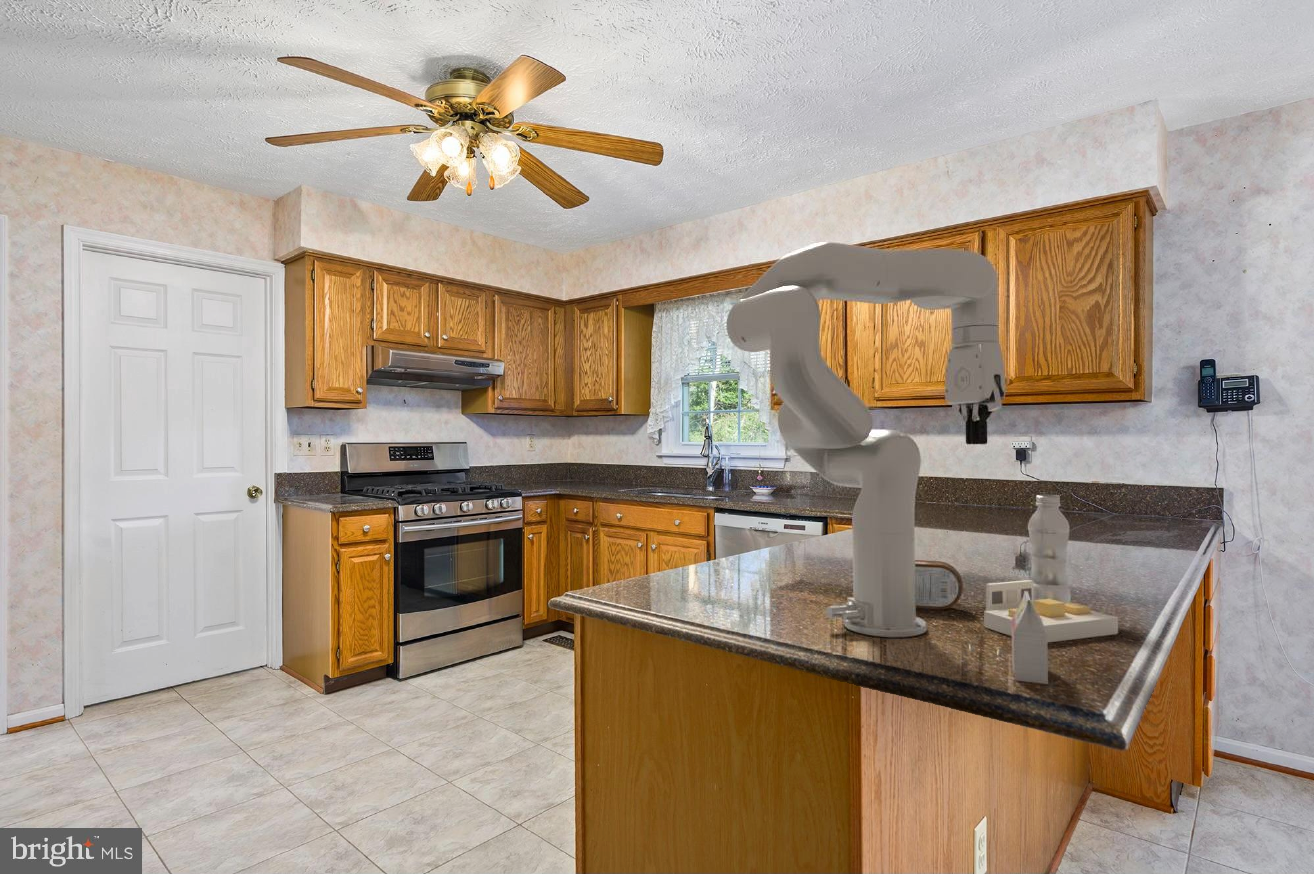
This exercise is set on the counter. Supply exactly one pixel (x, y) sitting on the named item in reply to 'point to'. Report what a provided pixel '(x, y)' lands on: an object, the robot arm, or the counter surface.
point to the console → (1059, 625)
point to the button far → (1076, 609)
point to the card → (1007, 594)
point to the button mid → (1050, 608)
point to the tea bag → (1029, 644)
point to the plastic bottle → (1049, 550)
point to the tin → (937, 585)
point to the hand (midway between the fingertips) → (976, 443)
